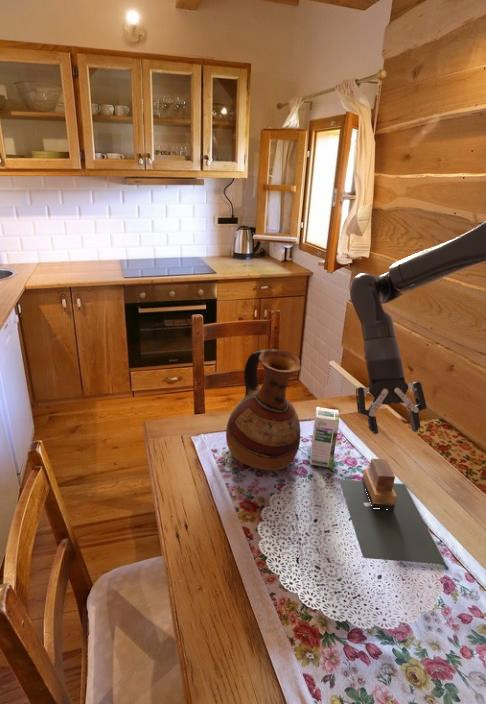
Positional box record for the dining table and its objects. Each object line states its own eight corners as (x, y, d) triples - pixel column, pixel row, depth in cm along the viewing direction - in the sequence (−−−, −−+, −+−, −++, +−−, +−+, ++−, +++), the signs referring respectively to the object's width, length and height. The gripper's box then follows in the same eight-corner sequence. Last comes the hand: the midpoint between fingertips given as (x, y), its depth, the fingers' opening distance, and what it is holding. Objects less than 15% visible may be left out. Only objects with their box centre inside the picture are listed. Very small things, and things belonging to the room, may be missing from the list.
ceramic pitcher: (261, 490, 97) (271, 379, 87) (209, 447, 112) (213, 348, 102) (313, 458, 109) (327, 357, 99) (260, 423, 124) (267, 332, 113)
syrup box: (309, 464, 107) (316, 417, 102) (310, 451, 112) (316, 405, 107) (331, 469, 105) (339, 421, 100) (331, 454, 111) (338, 408, 106)
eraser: (381, 482, 100) (387, 455, 98) (393, 510, 92) (400, 482, 89) (361, 480, 100) (366, 454, 98) (372, 508, 92) (378, 480, 89)
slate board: (403, 486, 100) (404, 484, 100) (445, 567, 80) (446, 564, 79) (338, 481, 101) (339, 479, 101) (362, 560, 80) (363, 557, 80)
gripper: (355, 360, 89) (367, 436, 86) (421, 354, 88) (436, 430, 85) (347, 363, 97) (358, 433, 94) (409, 357, 96) (422, 428, 92)
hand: (395, 432), depth 89 cm, fingers open, 8 cm apart
